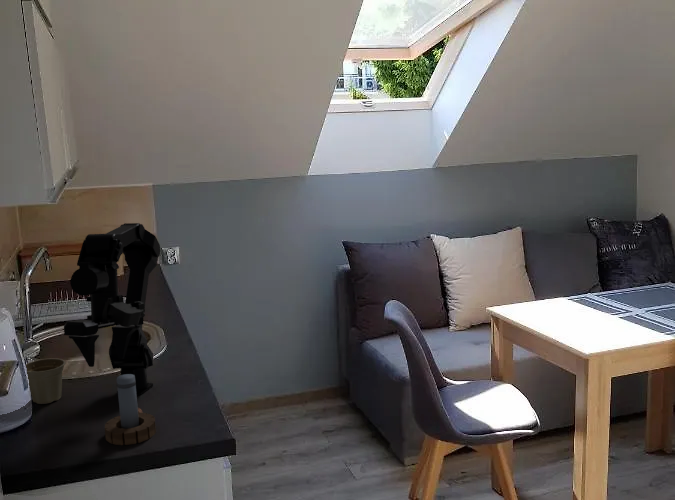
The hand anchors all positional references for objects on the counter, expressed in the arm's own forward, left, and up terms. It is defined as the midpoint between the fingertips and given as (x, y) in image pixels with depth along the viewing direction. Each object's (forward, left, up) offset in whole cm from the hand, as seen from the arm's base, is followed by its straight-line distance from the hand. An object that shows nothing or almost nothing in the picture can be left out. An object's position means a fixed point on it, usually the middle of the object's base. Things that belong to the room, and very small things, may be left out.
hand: (106, 362), depth 150 cm
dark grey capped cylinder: (+7, +9, -13) cm, 17 cm away
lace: (-2, +5, -13) cm, 14 cm away
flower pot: (-6, -21, -13) cm, 25 cm away
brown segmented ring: (+7, +9, -13) cm, 17 cm away
